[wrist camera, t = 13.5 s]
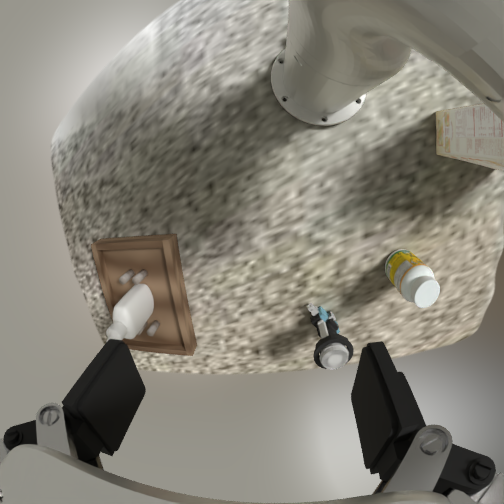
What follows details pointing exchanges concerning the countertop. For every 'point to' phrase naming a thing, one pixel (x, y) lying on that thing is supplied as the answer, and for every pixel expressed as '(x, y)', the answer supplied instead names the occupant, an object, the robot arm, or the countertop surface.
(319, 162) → the countertop surface
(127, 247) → the pin tray
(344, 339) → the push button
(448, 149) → the coffeecake box
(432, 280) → the supplement bottle
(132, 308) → the eye dropper bottle
